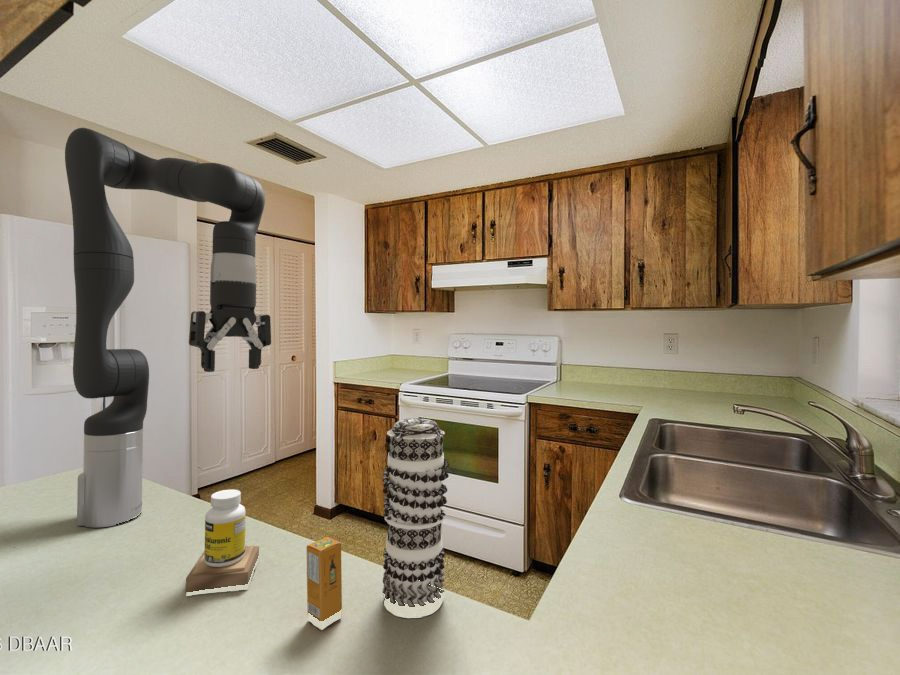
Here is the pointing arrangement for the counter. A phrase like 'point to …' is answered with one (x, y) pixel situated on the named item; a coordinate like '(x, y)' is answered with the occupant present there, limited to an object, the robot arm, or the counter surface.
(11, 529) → the counter surface
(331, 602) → the supplement box
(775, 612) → the counter surface
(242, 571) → the stand
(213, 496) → the supplement bottle
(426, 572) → the decorative candle
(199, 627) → the counter surface
